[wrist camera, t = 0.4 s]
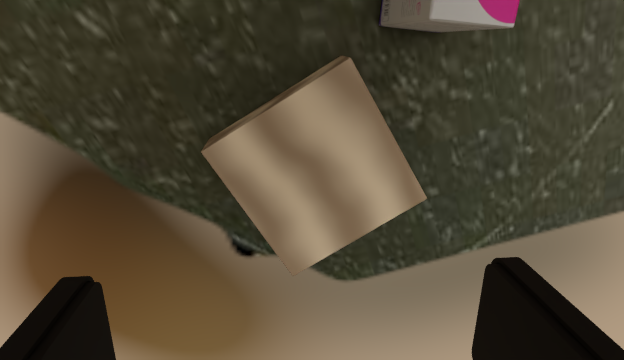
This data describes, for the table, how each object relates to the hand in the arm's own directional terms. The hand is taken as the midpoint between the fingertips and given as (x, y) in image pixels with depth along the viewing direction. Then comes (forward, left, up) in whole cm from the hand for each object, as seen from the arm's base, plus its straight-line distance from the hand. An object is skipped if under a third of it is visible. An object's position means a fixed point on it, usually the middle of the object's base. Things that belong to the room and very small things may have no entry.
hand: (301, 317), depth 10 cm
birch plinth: (0, +6, -29) cm, 29 cm away
